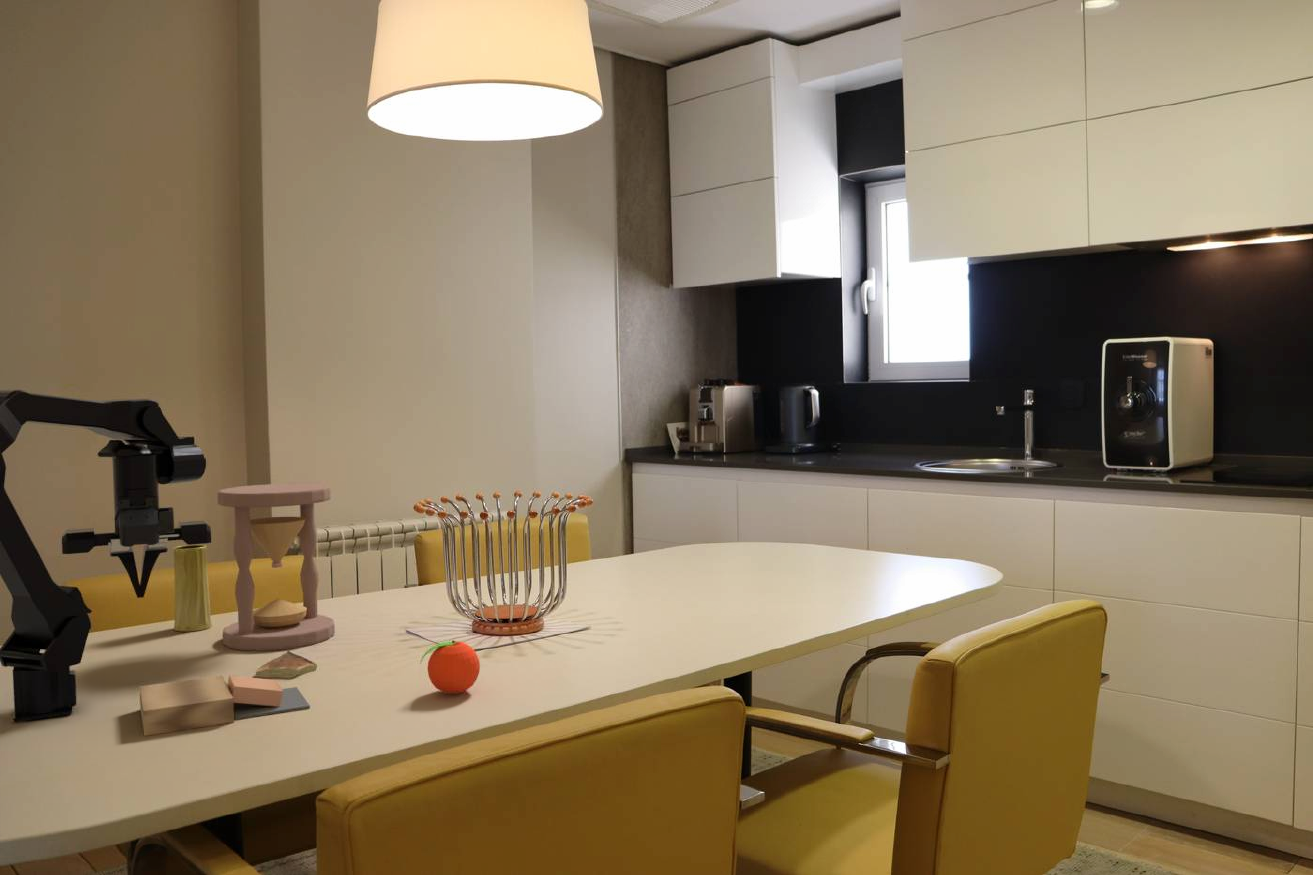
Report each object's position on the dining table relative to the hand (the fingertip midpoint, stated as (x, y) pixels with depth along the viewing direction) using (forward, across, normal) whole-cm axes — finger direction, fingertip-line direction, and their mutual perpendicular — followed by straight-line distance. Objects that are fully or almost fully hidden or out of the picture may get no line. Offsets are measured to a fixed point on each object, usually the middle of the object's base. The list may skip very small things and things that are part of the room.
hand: (140, 597), depth 150 cm
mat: (+12, +14, -21) cm, 28 cm away
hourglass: (+12, +21, +17) cm, 30 cm away
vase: (+12, +9, +33) cm, 36 cm away
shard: (+13, +18, -4) cm, 22 cm away
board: (+12, +4, -21) cm, 25 cm away
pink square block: (+11, +12, -21) cm, 27 cm away
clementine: (+12, +36, -29) cm, 48 cm away
